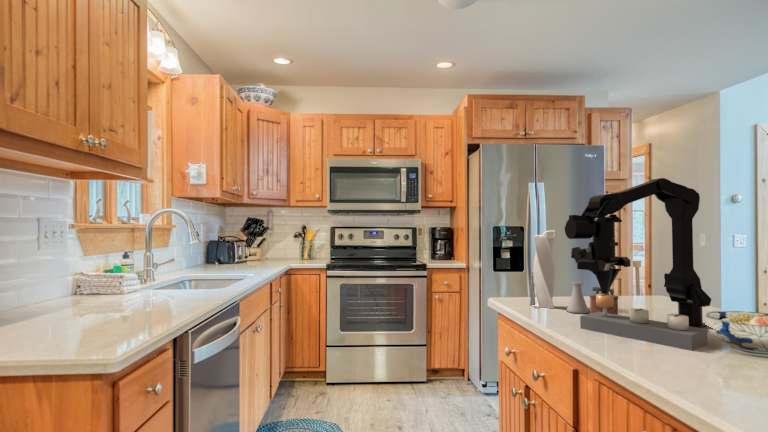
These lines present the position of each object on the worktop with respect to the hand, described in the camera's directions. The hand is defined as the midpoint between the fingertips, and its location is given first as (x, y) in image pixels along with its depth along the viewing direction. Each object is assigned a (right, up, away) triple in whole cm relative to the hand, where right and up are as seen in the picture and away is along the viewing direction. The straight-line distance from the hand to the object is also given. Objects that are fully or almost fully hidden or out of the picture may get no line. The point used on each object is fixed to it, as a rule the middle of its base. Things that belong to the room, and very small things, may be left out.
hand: (604, 293), depth 119 cm
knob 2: (+10, -9, -15) cm, 20 cm away
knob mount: (+5, -10, -8) cm, 13 cm away
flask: (+3, -11, +23) cm, 26 cm away
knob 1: (0, -7, 0) cm, 7 cm away
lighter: (+6, -10, +12) cm, 17 cm away
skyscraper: (-5, -11, +32) cm, 35 cm away
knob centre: (+5, -10, -8) cm, 13 cm away
